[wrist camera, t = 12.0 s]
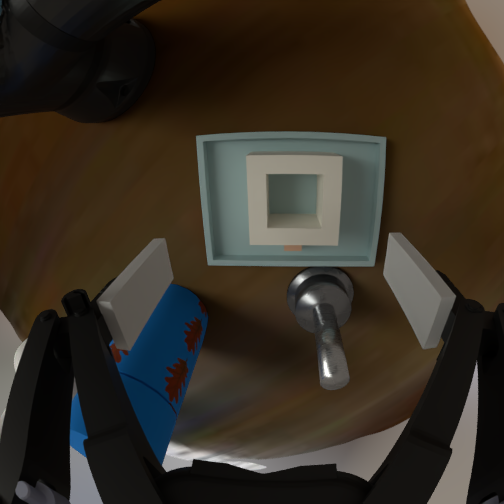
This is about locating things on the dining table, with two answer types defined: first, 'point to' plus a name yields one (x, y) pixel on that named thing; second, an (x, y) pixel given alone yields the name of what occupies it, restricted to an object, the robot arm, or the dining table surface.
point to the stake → (324, 317)
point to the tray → (290, 197)
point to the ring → (294, 225)
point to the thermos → (157, 368)
